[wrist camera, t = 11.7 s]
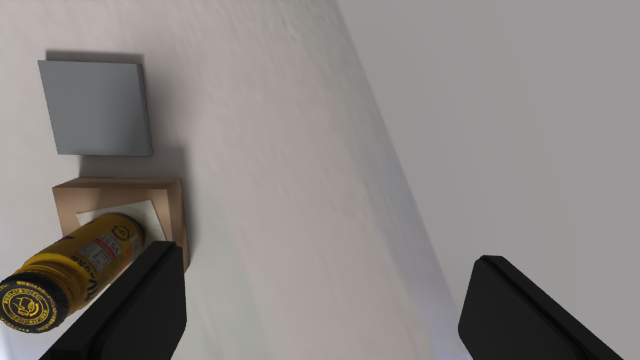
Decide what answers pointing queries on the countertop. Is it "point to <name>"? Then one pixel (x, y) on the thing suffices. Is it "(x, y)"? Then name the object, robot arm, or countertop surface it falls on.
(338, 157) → the countertop surface
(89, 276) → the condiment
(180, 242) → the block
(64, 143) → the coaster
